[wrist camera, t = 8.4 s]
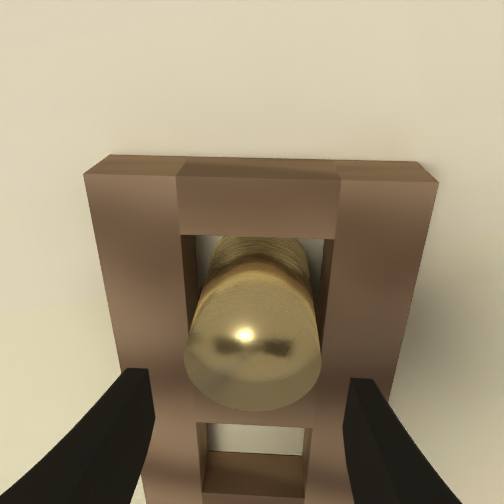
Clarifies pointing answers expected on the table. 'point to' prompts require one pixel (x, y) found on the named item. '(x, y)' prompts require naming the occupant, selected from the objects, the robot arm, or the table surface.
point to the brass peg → (255, 325)
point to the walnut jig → (186, 300)
